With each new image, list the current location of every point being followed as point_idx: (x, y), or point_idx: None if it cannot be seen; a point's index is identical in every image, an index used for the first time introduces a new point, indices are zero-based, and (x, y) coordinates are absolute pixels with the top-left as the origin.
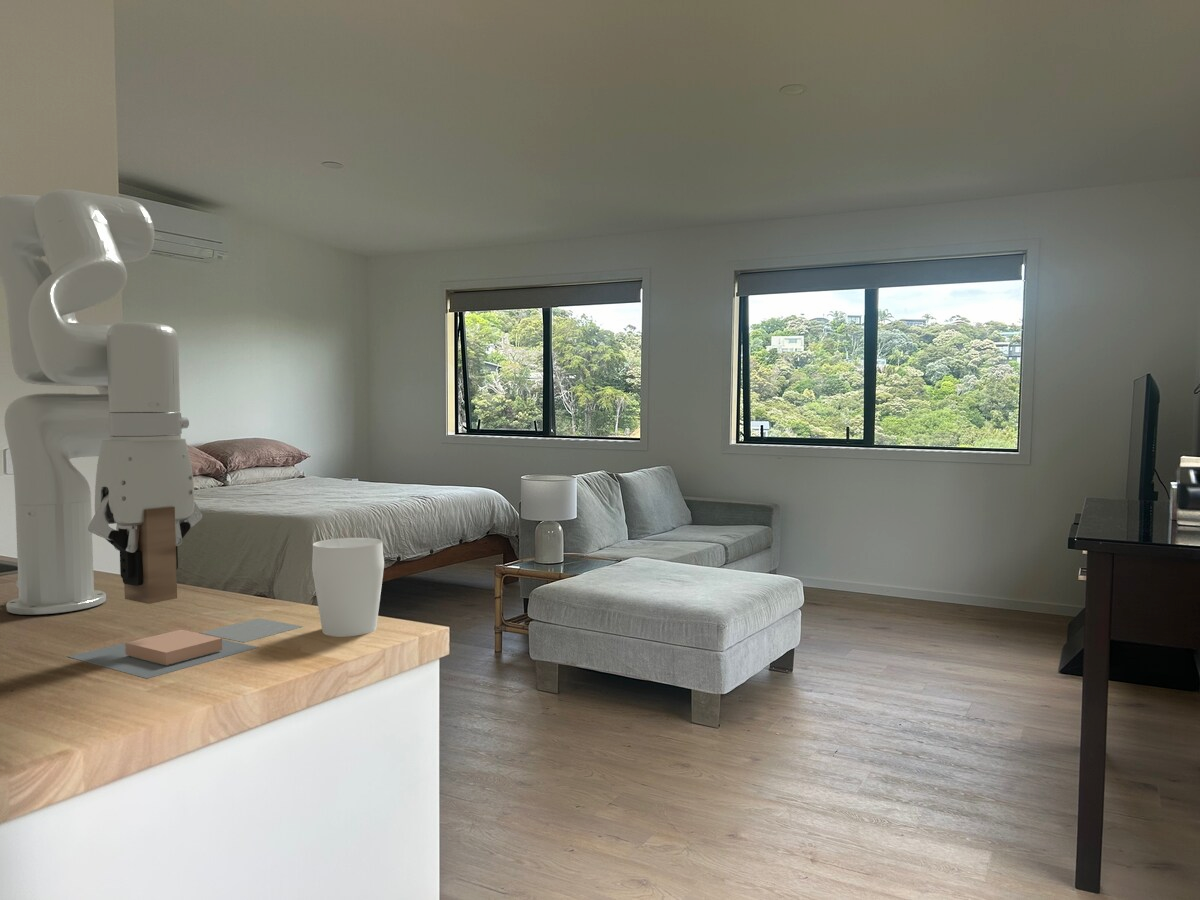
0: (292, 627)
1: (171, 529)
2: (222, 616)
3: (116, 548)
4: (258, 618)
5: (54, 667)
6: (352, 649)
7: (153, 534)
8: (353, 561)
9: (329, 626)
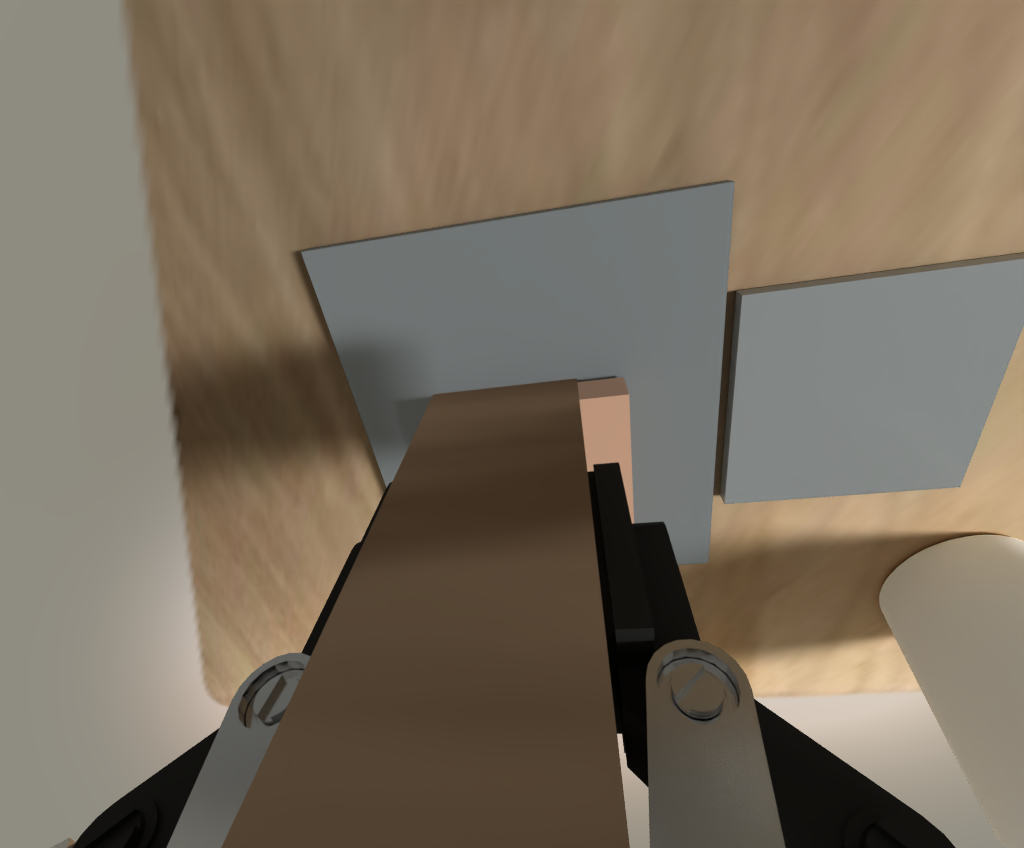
0: (934, 473)
1: None
2: None
3: (259, 687)
4: None
5: (270, 283)
6: (824, 660)
7: None
8: None
9: (896, 623)
